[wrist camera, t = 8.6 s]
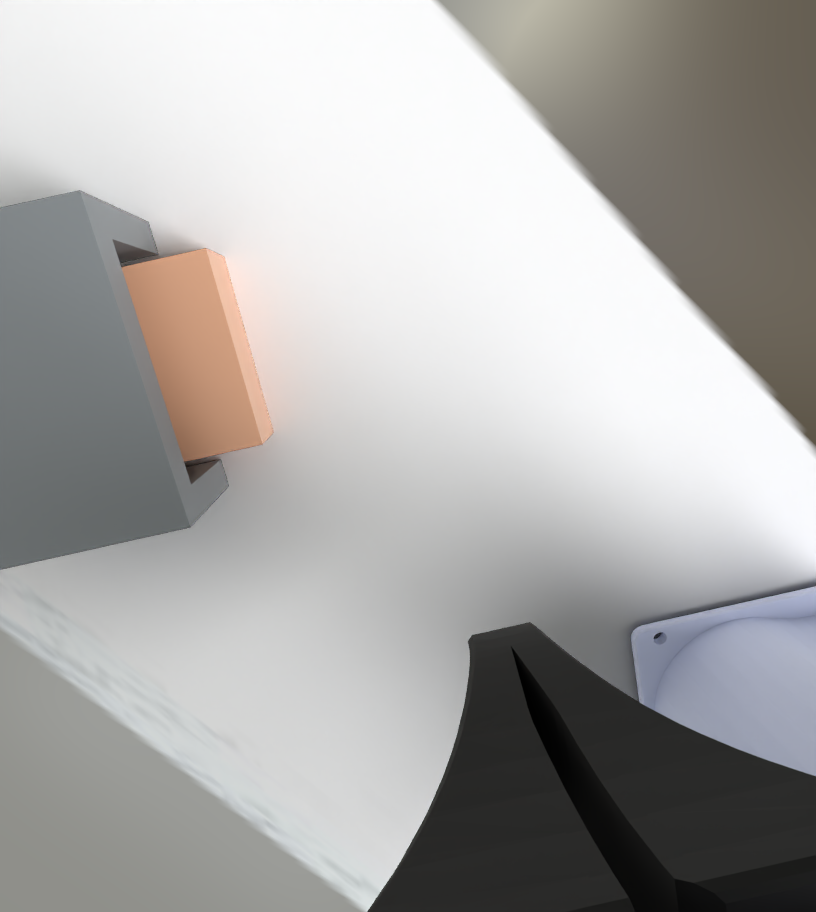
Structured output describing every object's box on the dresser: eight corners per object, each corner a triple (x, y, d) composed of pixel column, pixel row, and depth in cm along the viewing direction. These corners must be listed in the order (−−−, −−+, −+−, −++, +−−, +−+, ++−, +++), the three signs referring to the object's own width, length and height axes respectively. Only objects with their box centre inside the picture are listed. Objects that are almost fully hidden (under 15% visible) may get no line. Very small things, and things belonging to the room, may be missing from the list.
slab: (227, 258, 18) (205, 248, 16) (275, 430, 20) (262, 444, 18) (-8, 310, 18) (-64, 308, 16) (57, 479, 20) (15, 500, 17)
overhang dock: (148, 222, 18) (79, 190, 14) (228, 485, 20) (190, 527, 16) (-60, 268, 18) (-193, 249, 14) (42, 527, 20) (-45, 579, 16)
